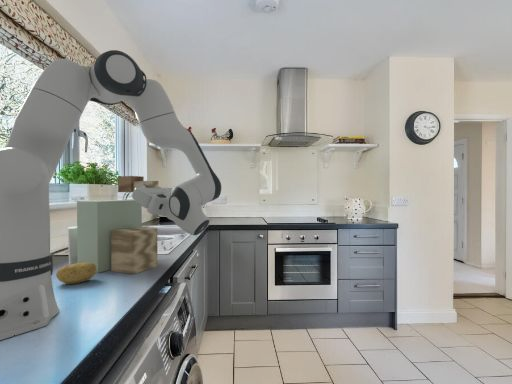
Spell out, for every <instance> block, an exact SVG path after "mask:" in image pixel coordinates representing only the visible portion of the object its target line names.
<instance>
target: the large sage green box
mask: <svg viewBox="0 0 512 384" xmlns="http://www.w3.org/2000/svg"><path fill="white" fill-rule="evenodd" d="M142 208H143V207H142V206H141V205H140V204H138V203H137V202H136V201H135V200H134V199H107V200H103V199H101V200H78V201H76V226H77V263H88V262H90V263H94V264H95V266H96V274H99V273H104V272H106V271H110V270H111V231H112V230H120V229H127V228H134V227H143V226H142V225H143V224H142V223H143V221H142V219H143V215H142V214H143V213H142V211H143V210H142Z"/></svg>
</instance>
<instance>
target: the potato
mask: <svg viewBox="0 0 512 384" xmlns="http://www.w3.org/2000/svg"><path fill="white" fill-rule="evenodd" d="M95 274H97V273H96V266H95V264H94V263H90V262H88V263H76V264H72V265H69V264H68V265H64V266H62V267H61V268H59V269H58V270H57V271H56V274H55V275H56V278H57V279H58V280H59V281H60V282H61V283H63V284H71V285H72V284H79V283H82V282H85V281H89V280H91V278H93V277H94V276H95Z"/></svg>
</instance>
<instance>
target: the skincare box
mask: <svg viewBox="0 0 512 384" xmlns="http://www.w3.org/2000/svg"><path fill="white" fill-rule="evenodd" d="M67 245H68V246H67V247H68V248H67V249H68V265H72V264H76V263H77V225H76V226H68V227H67Z"/></svg>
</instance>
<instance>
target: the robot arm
mask: <svg viewBox="0 0 512 384" xmlns="http://www.w3.org/2000/svg"><path fill="white" fill-rule="evenodd" d="M123 101H124V103H126V104H127V105H129V107H130V108H131V109H132V111H133V112H134V114H135V117H136V119H137V121H138V122H137V123H138V124H139V128H140V129H141V130H140V131H141V133H143V134H142V135H143V136H144V137H145V139H146V140H147V141H148V142H149V143H151V144H152V145H154V146H156V147H160V148H167V149H175V150H179V151H181V152H182V153H184V155H185V156H186V158H187V159H188V162H189V163H190V165H191V167H192V169H193V171H194V173H195V177H192V178H191V179H188V180H187V181H183V182H181V183H180V184H178V185H176V186H174V187H162V186H159V185H158V188H147V187H146V186H147V185H145V184H140V185H139V188H135V189H134V191H133V192H132V194H131V198H132V200H135V201H136V202H137V203H138V204H140V205H141V206H142V208H145V209H146V212H147V213H149V214H150V215H157V216H162V217H166V218H167V219H168V220H170V221H173V222H174V224H175V225H176V226H178V228H179V229H181V230H182V231H184V232H185V233H188V234H189V235H191V236H198V235H199V234H201V233H203V232H204V231H205V230H206V229H207V227H208V226H209V224H210V219H209V217H208V216H207V215H206V214H205V213H204V212H203V208H202V206H205V205H206V204H208V203H210V202H213V201H215V200H217V199H218V198H219V197H220V196H221V192H222V183H221V181H220V178H219V176H218V175H217V174H216V173H215V172H214V170H213V169H212V167H211V165H210V163H209V161H208V159H207V157H206V155H205V153H204V152H203V149H202V147H201V145H200V143H199V142H198V139H196V137H195V135H194V134H193V132H192V131H191V130H190V129H188V128H185V126H184V125H183V124H182V122H181V121H180V120H179V118H178V117H177V114H176V111H175V109H174V107H173V104H172V102H171V100H170V98H169V96H168V95H167V93H166V90H165V89H164V87H163V85H162V84H161V83H160V82H158V80H155V79H151V78H147V76H146V74H145V72H144V71H143V70H142V69H141V68H140V66H139V65H138V63H137V62H136V61H135V59H133V58H132V57H131V56H130V55H129V54H127V53H125V52H123V51H121V50H115V49H113V50H111V49H110V50H107V51H105V52H103V53H101V54H99V55H98V56H97V57H96V59H95V60H94V62H93V63H92V64H91V65H90V66H85V65H80V64H79V63H78V62H77V61H73V60H71V59H67V58H57V59H54V60H53V61H51V63H49V64H48V66H46V67H45V68H44V70H43V71H42V72H41V73H40V75H39V77H38V78H37V80H36V81H35V82H34V84H33V86H32V87H31V89H30V90H29V93H28V95H27V96H26V98H25V100H24V101H23V104H22V105H21V107H20V109H19V112H18V113H17V115H16V117H15V119H14V122H13V125H12V128H11V131H10V133H9V137H8V139H7V142H6V144H5V146H4V148H1V149H0V341H2V340H4V339H5V340H6V339H9V338H12V337H15V336H18V335H21V334H24V333H27V332H30V331H34V330H37V329H41V328H43V327H47V326H48V325H49V324H50V322H51V319H53V318H54V317H55V316H56V315H58V314H59V311H60V309H59V306H58V303H57V301H56V298H55V293H54V287H53V281H52V276H53V272H54V271H53V269H54V263H53V261H54V260H53V254H52V253H51V216H50V214H51V213H50V211H51V209H50V183H51V180H52V178H53V177H54V175H55V172H56V169H57V168H58V166H59V164H60V161H61V159H62V157H63V155H64V152H65V150H66V148H67V145H68V143H69V141H70V140H71V137H72V136H73V134H74V131H75V130H76V126H77V125H78V123H79V121H80V119H81V117H82V115H83V113H84V111H85V110H86V109H85V108H86V106H87V104H88V103H89V102H94V103H99V104H101V105H106V106H115V105H117V104H120V103H121V102H123ZM14 335H15V336H14Z"/></svg>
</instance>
